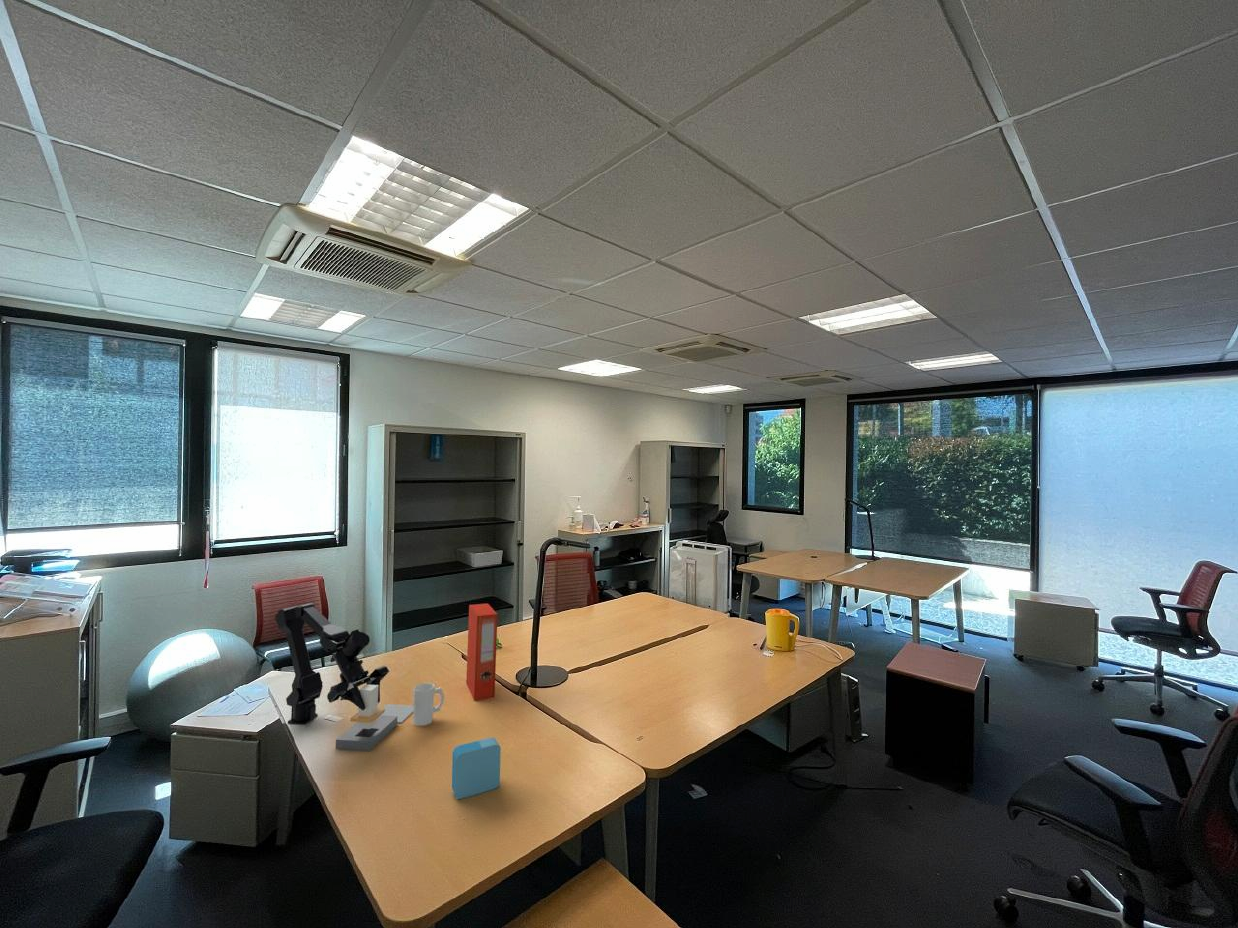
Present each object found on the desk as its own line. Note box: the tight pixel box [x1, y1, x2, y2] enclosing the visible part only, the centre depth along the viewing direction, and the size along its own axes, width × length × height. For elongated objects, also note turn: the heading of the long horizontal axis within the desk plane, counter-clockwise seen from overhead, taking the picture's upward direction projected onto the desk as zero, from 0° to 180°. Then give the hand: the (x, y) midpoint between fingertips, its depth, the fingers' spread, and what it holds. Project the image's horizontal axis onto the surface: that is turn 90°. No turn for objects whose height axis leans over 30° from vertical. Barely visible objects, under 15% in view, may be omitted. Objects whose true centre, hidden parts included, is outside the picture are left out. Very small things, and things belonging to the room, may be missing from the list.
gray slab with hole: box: [335, 715, 398, 752], centre depth 158 cm, size 11×16×3 cm
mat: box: [381, 703, 413, 724], centre depth 173 cm, size 12×12×1 cm
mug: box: [412, 682, 445, 727], centre depth 169 cm, size 10×7×12 cm, turn 116°
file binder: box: [465, 603, 499, 701], centre depth 195 cm, size 8×17×32 cm, turn 27°
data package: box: [451, 737, 502, 800], centre depth 133 cm, size 12×4×12 cm, turn 120°
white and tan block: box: [350, 684, 385, 729], centre depth 155 cm, size 7×7×12 cm
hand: (371, 705), depth 155 cm, fingers closed on white and tan block, 5 cm apart
